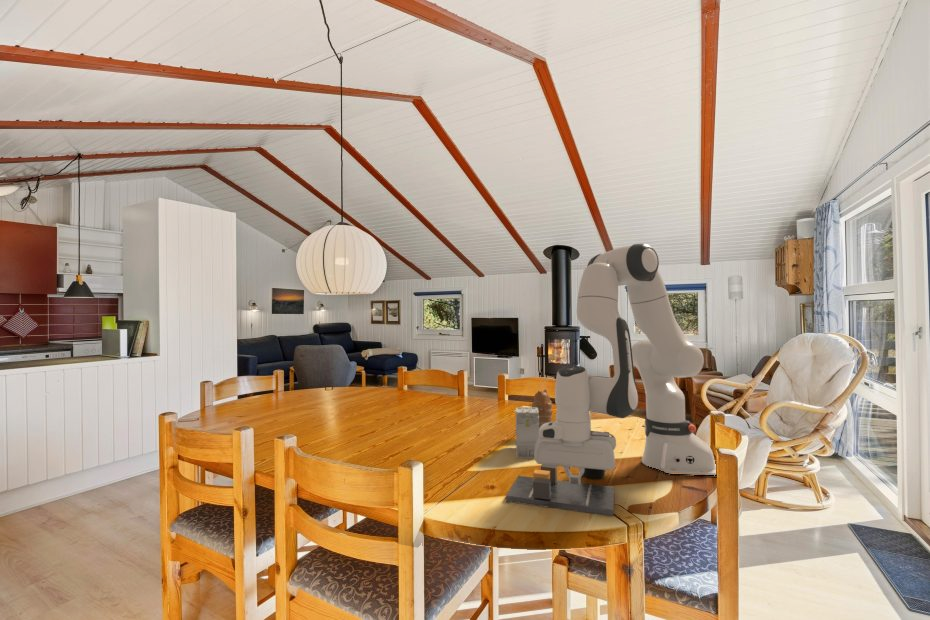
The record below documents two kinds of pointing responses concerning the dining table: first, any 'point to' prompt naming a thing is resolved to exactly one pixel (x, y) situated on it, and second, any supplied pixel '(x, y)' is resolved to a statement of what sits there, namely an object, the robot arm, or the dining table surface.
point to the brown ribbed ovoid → (543, 407)
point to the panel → (565, 496)
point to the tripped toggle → (541, 474)
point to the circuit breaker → (526, 431)
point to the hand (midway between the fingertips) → (574, 483)
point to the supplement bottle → (594, 473)
